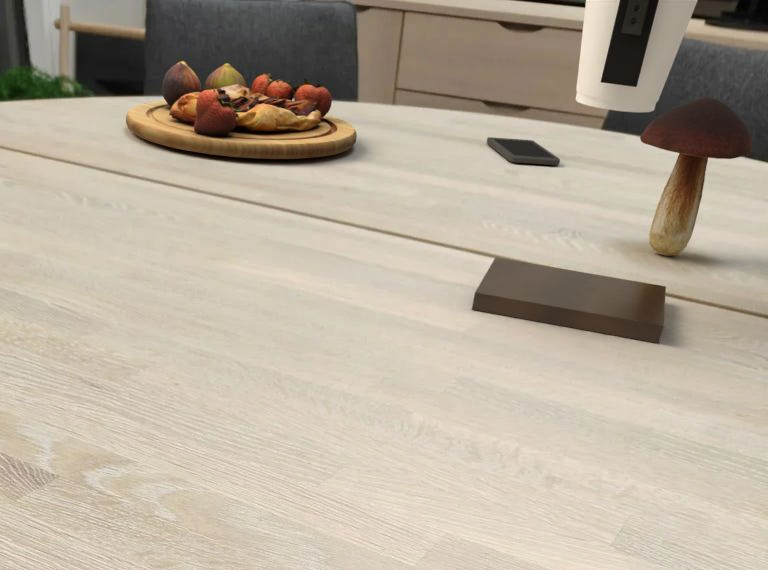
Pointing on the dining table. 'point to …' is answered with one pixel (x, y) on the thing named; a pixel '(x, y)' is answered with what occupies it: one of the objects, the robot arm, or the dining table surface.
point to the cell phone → (522, 151)
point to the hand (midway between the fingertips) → (622, 76)
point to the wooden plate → (241, 117)
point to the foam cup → (656, 65)
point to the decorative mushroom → (691, 163)
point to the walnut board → (573, 299)
